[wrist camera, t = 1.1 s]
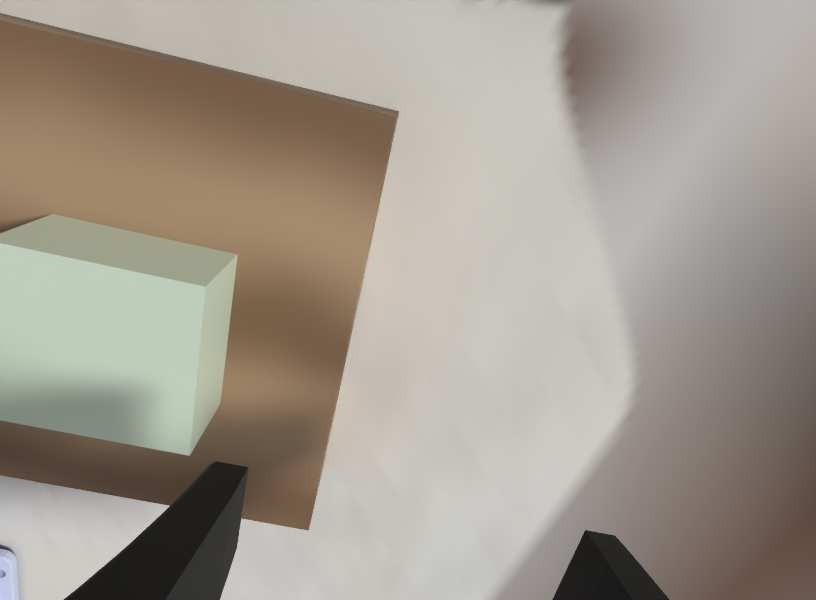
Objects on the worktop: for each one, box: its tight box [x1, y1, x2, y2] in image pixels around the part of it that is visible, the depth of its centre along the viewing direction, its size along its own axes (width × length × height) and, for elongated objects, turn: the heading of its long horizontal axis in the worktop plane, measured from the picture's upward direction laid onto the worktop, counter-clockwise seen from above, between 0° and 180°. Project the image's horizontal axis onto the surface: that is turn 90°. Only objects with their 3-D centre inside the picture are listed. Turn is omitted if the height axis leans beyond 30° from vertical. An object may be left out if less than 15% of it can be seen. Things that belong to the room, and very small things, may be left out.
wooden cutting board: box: [0, 13, 399, 530], centre depth 17 cm, size 14×14×3 cm
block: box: [0, 214, 238, 456], centre depth 14 cm, size 5×5×2 cm
